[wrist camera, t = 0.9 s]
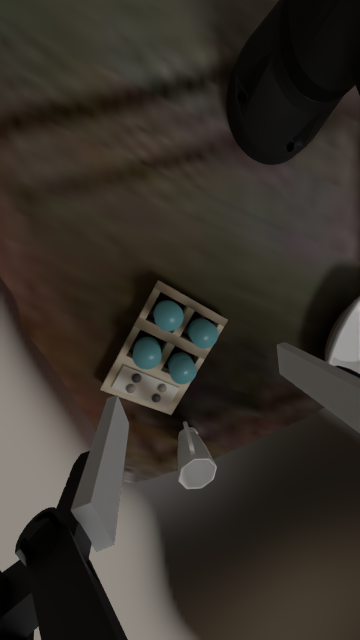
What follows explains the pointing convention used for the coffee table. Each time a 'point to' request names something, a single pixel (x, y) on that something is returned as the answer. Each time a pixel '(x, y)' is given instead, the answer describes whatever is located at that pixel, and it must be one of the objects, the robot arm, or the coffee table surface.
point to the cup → (194, 460)
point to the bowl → (345, 339)
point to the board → (157, 382)
